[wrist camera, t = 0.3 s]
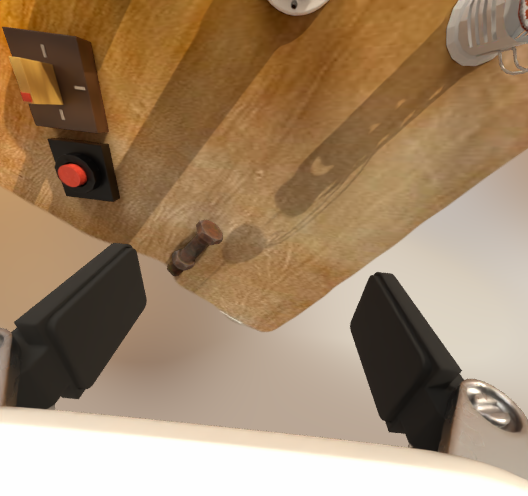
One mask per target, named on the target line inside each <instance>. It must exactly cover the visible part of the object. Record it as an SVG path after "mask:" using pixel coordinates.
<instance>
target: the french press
mask: <svg viewBox="0 0 528 496" xmlns="http://www.w3.org/2000/svg"><path fill="white" fill-rule="evenodd" d="M524 30H525V32H524V33H523V34H522V35H521V36H520V37H519V38H517V39H515V38H516V37H518V36H519V35H520V34H521V33H522V32H523V31H524ZM527 33H528V0H459V1H458V2H457V4H456V5H455V7H454V8H453V11H452V14H451V17H450V20H449V23H448V26H447V35H446V46H447V48H448V51H449V53H450V55H451V58H452V59H453V60H455V61H456V62H458V63H459V64H461V65H462V66H477V65H480V64H482V63H485V62H487V61H490V60H492V59H493V58H494V57H495V56H497V55H499V65H500V67H501V70H503V71H504V72H505V73H507V74H511V75H517V74H523V73H526V72H528V69H526V68H523V67H521V66H519V64H518V61H517V55H516V48H515V46H519V45H523V44H526V43H528V35H527V36H525V35H526V34H527ZM507 50H513V56H514V63H515V65H516V67H517V68H518V69H520V70H522V71H517V72H511V71H509V70H506V69H505V68H504V66H503V63H502V54H501V52H503V51H507Z"/></svg>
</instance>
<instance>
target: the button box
mask: <svg viewBox="0 0 528 496" xmlns="http://www.w3.org/2000/svg"><path fill="white" fill-rule="evenodd" d="M48 142H49V145H50V148H51V151H52V154H53V157H54V160H55V163H56V164H55V169H56V172H57V175H58V169H59V168H60V167H61V166H63V165H67V164H77V165H79V166H80V167H81V168H83V170H84V171H85V172H86V175H87V181H86V183H84V184H82V185H80V186H77V187H70V186H68V185H66V184H65V183H63V182H62V184H63V187H64V190H65V193H66V196H71V197H79V198H87V199H95V200H103V201H111V202H114V201H116V200H117V199H119V198H120V196H119V191H118V186H117V182H116V177H115V172H114V167H113V163H112V158H111V153H110V148H109V144H103V143H96V142H88V141H80V140H72V139H64V138H51V139H48ZM58 178H59V179H60V177H59V175H58ZM60 180H61V179H60ZM61 181H62V180H61Z"/></svg>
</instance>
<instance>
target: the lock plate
mask: <svg viewBox="0 0 528 496" xmlns="http://www.w3.org/2000/svg"><path fill="white" fill-rule="evenodd" d="M2 28H3V31H4V34H5V37H6V40H7V43H8V46H9V48H10V51H11V54H12V57H19V58H24V59H29V60H34V61H39V62H44V63H49V64H52V65H53V69H54V72H55V76H56V79H57V83H58V87H59V90H60V94H61V97H62V101H63V105H50V104H30V103H28V104H29V107H30V110H31V113H32V115H33V118H34V121H35V124H36V125H37V126H44V127H52V128H60V129H67V130H75V131H83V132H91V133H104V132H109V130H108V125H107V120H106V116H105V111H104V106H103V101H102V96H101V91H100V86H99V81H98V76H97V71H96V67H95V62H94V57H93V52H92V47H91V42H89V41H86V40H84V39H81V38H78V37H76V36H68V35H61V34H54V33H46V32H39V31H31V30H24V29H16V28H9V27H2Z"/></svg>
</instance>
